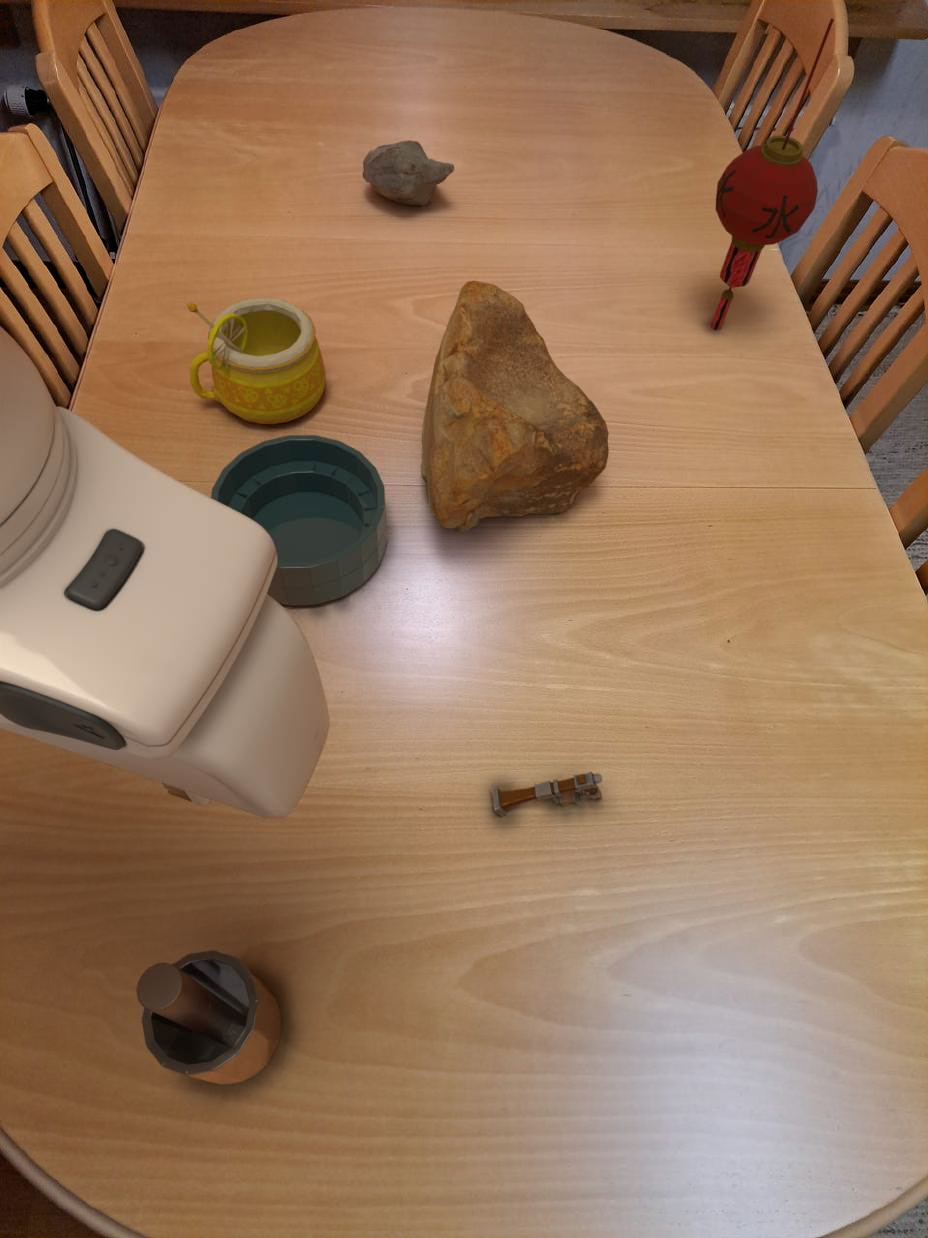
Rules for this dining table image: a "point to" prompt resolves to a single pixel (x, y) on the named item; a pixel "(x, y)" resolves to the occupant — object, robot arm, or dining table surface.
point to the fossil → (404, 172)
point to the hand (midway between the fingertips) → (91, 746)
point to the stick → (189, 1004)
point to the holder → (207, 1056)
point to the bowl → (310, 513)
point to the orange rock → (504, 418)
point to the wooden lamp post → (549, 792)
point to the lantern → (763, 202)
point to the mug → (262, 361)
